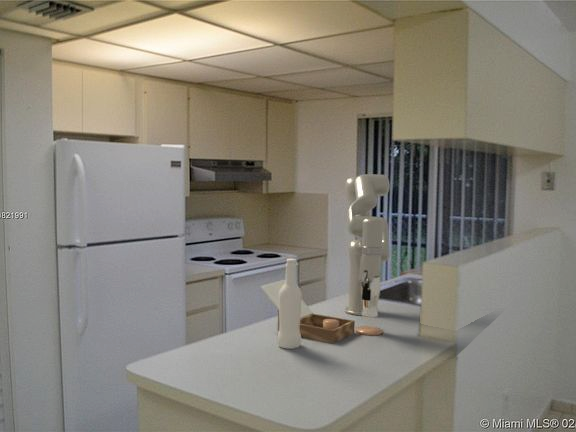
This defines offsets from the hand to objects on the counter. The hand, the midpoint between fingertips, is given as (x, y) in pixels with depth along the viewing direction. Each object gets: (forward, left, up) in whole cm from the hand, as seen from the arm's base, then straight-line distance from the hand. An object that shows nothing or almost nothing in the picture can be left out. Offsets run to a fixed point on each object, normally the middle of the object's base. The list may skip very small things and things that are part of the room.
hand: (370, 298), depth 206 cm
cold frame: (+13, -13, -13) cm, 22 cm away
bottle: (+33, -15, -13) cm, 39 cm away
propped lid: (+13, -29, -13) cm, 34 cm away
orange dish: (0, 0, -13) cm, 13 cm away
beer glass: (0, 0, -7) cm, 7 cm away
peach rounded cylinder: (+15, -9, -13) cm, 22 cm away
